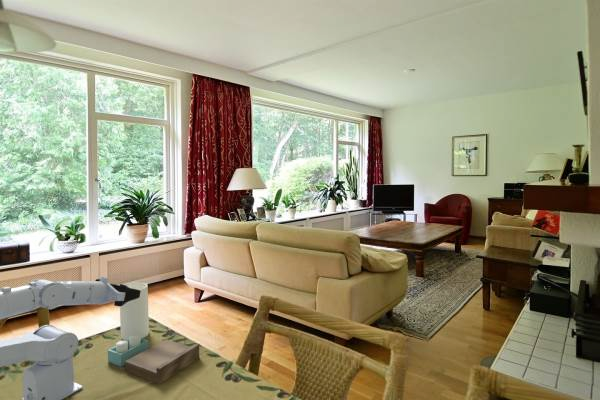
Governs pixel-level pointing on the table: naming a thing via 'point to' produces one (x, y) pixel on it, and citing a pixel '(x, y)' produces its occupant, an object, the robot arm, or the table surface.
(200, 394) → the table surface
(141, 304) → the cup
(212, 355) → the table surface
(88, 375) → the table surface
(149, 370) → the brown flat block
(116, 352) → the light blue open box
